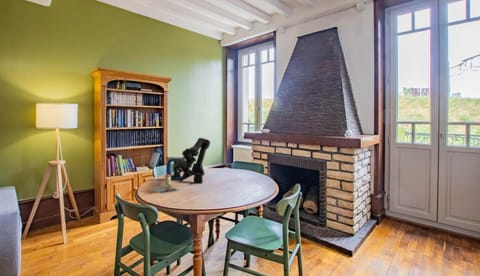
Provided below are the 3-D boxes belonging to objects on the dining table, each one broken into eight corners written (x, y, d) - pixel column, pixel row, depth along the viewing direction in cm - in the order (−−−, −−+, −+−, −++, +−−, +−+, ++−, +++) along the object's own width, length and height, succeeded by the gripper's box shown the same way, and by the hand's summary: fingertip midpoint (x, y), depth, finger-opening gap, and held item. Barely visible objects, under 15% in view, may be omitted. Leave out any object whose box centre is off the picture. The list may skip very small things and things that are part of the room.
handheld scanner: (183, 180, 219) (183, 157, 218) (166, 179, 223) (165, 156, 221) (186, 179, 224) (185, 156, 222) (168, 178, 227) (168, 156, 226)
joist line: (173, 188, 191) (173, 188, 191) (177, 189, 189) (177, 189, 189) (158, 192, 182) (158, 192, 182) (162, 193, 179) (162, 193, 179)
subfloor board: (147, 190, 191) (147, 188, 191) (164, 186, 202) (164, 184, 202) (163, 196, 178) (163, 193, 178) (180, 191, 189) (180, 189, 189)
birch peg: (171, 189, 187) (171, 174, 186) (169, 191, 183) (169, 175, 182) (166, 189, 187) (166, 174, 186) (164, 191, 184) (164, 175, 183)
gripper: (174, 155, 199) (162, 171, 192) (189, 157, 186) (177, 176, 179) (183, 163, 205) (171, 180, 198) (198, 167, 193) (186, 184, 186)
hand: (176, 180), depth 190 cm, fingers open, 9 cm apart
